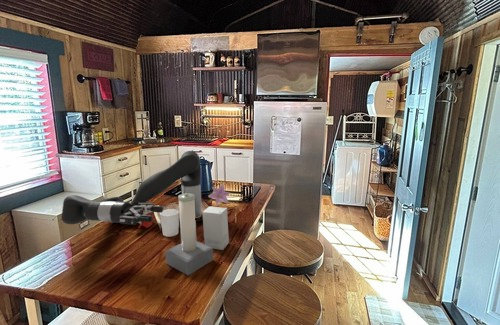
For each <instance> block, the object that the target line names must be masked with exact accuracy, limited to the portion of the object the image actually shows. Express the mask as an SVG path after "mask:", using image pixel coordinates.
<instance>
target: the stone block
mask: <svg viewBox="0 0 500 325" xmlns="http://www.w3.org/2000/svg"><path fill="white" fill-rule="evenodd" d="M196 243H197V248H196V249H195V250H194V251H191V252H185V251H182V247H181V242H180V243H179V244H177V245H175V246H172V247H170V248H168V249H166V250H165V251H164V253H165V254H164V255H165V256H164V257H165V264H166V265H168V266H170V267H171V268H173V269H175V270H177V271H179V272H180V273H183V274H184V275H186V276H190V275H191V274H193V273H195V272H196V271H198V270H200V269H201V268H202V267H204V266H206V265H208V264H209V263H212V261H214V249H213V248H212V247H210V246H208V245H205V243H203V242H200V241H198V240H196Z"/></svg>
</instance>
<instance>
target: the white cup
mask: <svg viewBox="0 0 500 325" xmlns="http://www.w3.org/2000/svg"><path fill="white" fill-rule="evenodd" d="M159 217H160V224H161V230H162V235H163V236H164V237H168V238H169V237H175V236H177V235H178V234H180V233H179V228H180V213H179V210H178V209H176V208H167V209H163V212H159Z"/></svg>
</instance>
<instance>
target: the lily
mask: <svg viewBox="0 0 500 325" xmlns="http://www.w3.org/2000/svg"><path fill="white" fill-rule="evenodd" d="M211 188H212V190H213V192H212V193H210V194H208V198H210V199H214V200H215V205H216V206H218V205H219V204H220V203H221V202H222V203H225V204H227V205H228V204H229V200H228V197H227V196H229V195H230V194H231V193H230V192H229V191H225V190H226V187H225V184H224V183H222V184H221V185H219V187H218V188H217V187H215V186H211Z"/></svg>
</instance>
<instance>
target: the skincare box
mask: <svg viewBox="0 0 500 325" xmlns="http://www.w3.org/2000/svg"><path fill="white" fill-rule="evenodd" d="M228 219H229V218H228V207H219V206H212V205H211V206H210V205H209V206H208V207H207V208H205V209H204V210H202V224H203V227H202V228H203V239H204V244H205V245H208V246H210V247H212V248H213V250H218V251H219V250H220V251H224V249H225V248H226V247H227V245H229V243H230V240H229V237H230V236H229V224H228V222H229V220H228Z"/></svg>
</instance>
